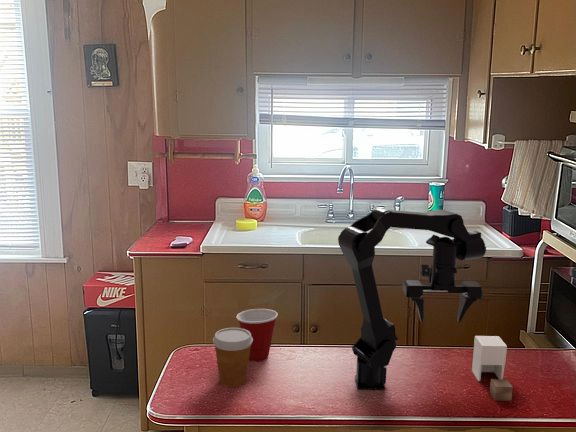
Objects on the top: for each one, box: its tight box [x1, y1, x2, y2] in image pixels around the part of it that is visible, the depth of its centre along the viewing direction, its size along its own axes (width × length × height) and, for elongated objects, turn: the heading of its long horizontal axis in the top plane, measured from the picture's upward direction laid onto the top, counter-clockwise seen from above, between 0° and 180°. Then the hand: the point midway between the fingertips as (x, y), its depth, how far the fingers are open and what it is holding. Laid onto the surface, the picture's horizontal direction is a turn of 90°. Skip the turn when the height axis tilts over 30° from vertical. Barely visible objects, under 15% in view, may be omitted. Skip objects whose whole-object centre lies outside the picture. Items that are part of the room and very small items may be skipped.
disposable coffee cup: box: [212, 327, 253, 388], centre depth 149 cm, size 10×10×12 cm
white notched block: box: [471, 335, 508, 382], centre depth 154 cm, size 6×6×10 cm
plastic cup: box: [235, 308, 278, 362], centre depth 163 cm, size 11×11×12 cm
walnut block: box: [489, 378, 513, 402], centre depth 145 cm, size 4×4×4 cm
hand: (440, 321), depth 155 cm, fingers open, 9 cm apart
